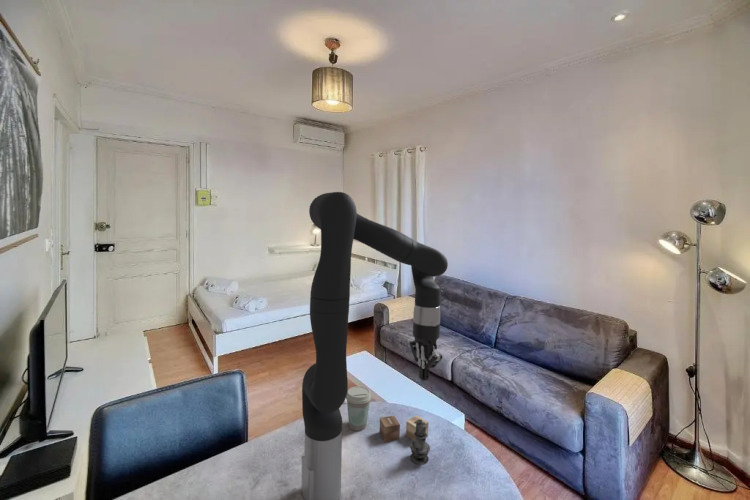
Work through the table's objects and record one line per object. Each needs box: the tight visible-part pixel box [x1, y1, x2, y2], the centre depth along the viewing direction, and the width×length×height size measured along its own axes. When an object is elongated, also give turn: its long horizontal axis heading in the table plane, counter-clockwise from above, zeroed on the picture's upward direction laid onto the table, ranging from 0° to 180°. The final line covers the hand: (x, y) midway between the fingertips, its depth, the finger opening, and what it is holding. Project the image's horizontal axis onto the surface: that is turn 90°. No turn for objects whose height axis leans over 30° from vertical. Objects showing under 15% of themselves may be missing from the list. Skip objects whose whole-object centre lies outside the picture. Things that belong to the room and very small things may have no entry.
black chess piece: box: [409, 418, 431, 466], centre depth 100 cm, size 6×6×12 cm
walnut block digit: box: [379, 415, 401, 443], centre depth 110 cm, size 5×5×5 cm
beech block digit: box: [405, 414, 430, 441], centre depth 110 cm, size 5×5×5 cm
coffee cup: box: [345, 385, 372, 432], centre depth 114 cm, size 8×8×12 cm
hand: (423, 379), depth 98 cm, fingers closed
